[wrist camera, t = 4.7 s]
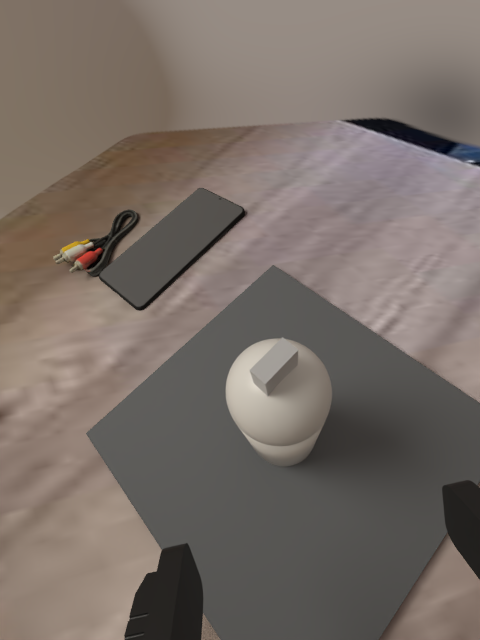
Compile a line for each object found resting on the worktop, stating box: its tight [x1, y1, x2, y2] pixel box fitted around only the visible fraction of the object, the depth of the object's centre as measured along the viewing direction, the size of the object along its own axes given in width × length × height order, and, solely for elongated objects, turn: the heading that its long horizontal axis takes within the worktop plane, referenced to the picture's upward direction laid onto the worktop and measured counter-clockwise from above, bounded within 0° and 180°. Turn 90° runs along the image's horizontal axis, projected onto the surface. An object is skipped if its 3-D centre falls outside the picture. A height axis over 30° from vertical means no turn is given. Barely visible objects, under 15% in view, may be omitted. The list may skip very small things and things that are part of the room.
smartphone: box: [99, 188, 245, 310], centre depth 32 cm, size 7×1×15 cm
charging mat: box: [86, 265, 480, 640], centre depth 21 cm, size 20×20×1 cm
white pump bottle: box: [226, 337, 332, 467], centre depth 16 cm, size 4×4×12 cm
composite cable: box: [53, 210, 138, 276], centre depth 32 cm, size 10×5×2 cm, turn 141°
